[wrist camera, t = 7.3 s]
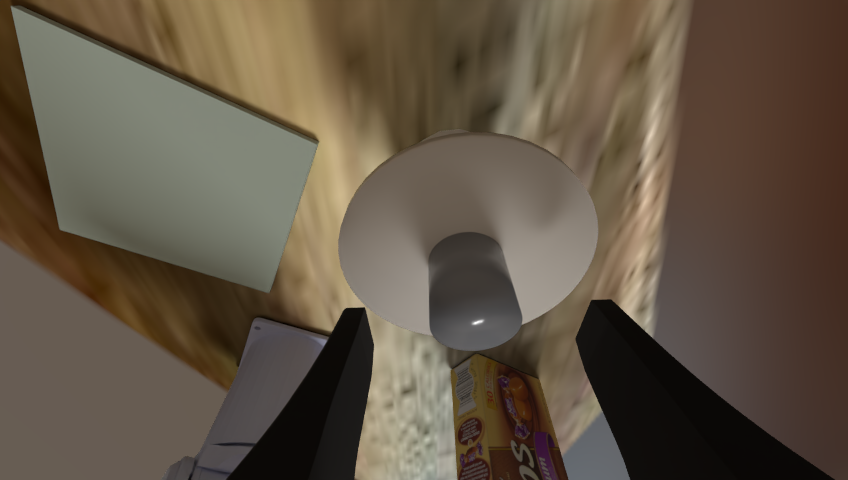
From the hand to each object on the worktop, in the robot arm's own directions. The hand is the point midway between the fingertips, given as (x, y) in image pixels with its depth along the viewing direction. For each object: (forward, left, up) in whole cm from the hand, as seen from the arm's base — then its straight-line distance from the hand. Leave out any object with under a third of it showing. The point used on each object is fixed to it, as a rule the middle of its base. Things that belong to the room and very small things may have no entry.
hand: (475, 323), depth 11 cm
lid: (0, 0, -3) cm, 4 cm away
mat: (-8, +14, -10) cm, 19 cm away
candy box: (-17, -15, -11) cm, 25 cm away
